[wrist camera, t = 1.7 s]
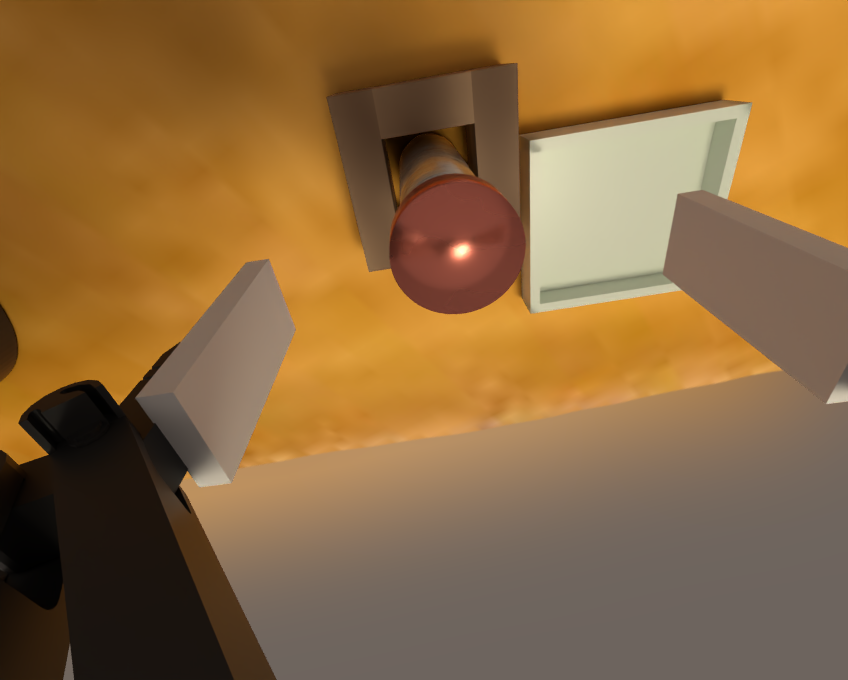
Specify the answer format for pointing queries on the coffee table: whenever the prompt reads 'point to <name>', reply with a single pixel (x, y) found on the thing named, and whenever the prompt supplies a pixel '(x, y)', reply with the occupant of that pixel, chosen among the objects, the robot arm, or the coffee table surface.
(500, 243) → the pin
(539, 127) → the coffee table surface
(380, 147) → the socket block
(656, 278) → the tray
